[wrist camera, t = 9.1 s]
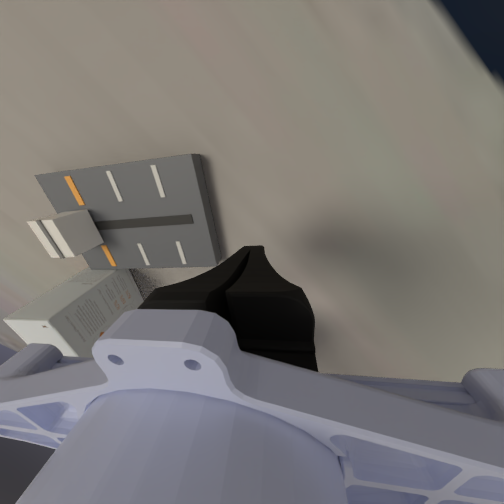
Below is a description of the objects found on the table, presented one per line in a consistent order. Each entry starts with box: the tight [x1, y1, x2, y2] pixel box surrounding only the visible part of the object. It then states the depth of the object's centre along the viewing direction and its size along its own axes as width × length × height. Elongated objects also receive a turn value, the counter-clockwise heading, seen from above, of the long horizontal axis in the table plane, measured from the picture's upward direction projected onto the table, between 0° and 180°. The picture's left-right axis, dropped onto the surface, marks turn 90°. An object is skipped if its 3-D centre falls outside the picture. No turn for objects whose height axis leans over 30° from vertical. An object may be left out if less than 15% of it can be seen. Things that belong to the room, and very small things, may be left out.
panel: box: [35, 154, 221, 270], centre depth 22 cm, size 12×18×2 cm, turn 96°
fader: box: [27, 210, 104, 258], centre depth 20 cm, size 4×3×4 cm
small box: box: [3, 267, 144, 358], centre depth 24 cm, size 8×6×10 cm
